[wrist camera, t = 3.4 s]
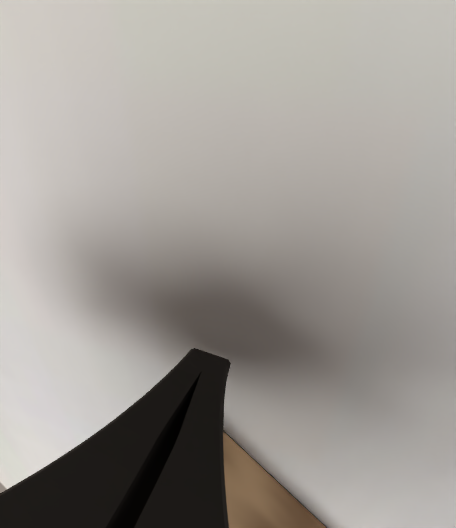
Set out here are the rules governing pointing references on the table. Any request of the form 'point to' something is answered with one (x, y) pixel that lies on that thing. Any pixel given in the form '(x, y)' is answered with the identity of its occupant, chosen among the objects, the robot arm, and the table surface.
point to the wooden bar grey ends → (259, 495)
